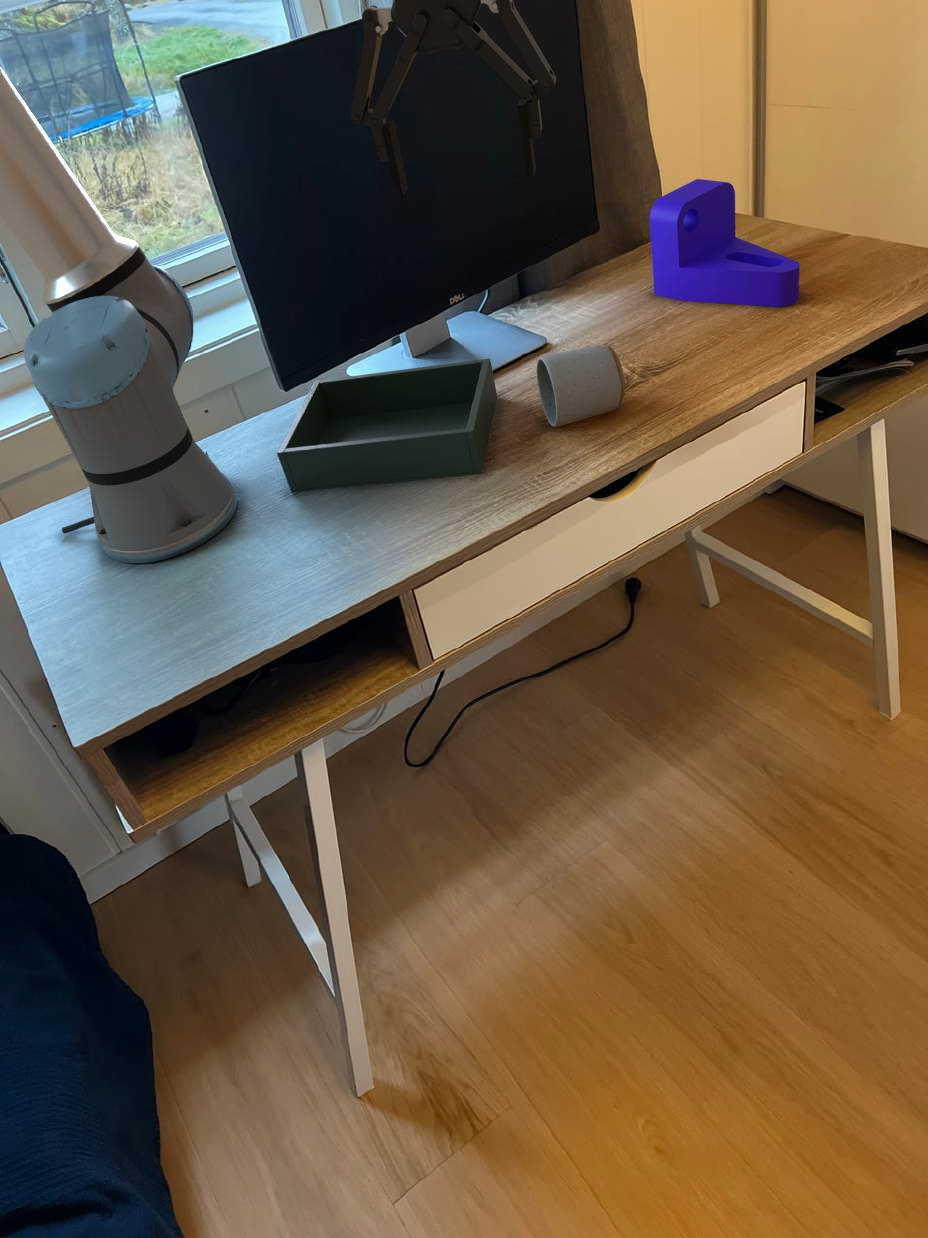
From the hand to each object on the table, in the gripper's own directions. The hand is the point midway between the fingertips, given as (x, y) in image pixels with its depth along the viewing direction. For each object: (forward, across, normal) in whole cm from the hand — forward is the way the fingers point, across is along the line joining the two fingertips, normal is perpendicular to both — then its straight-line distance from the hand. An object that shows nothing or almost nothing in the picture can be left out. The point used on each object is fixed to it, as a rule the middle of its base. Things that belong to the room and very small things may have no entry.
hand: (465, 183), depth 95 cm
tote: (+24, -11, -9) cm, 28 cm away
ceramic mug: (+24, +9, -6) cm, 26 cm away
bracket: (+24, +28, +22) cm, 43 cm away
